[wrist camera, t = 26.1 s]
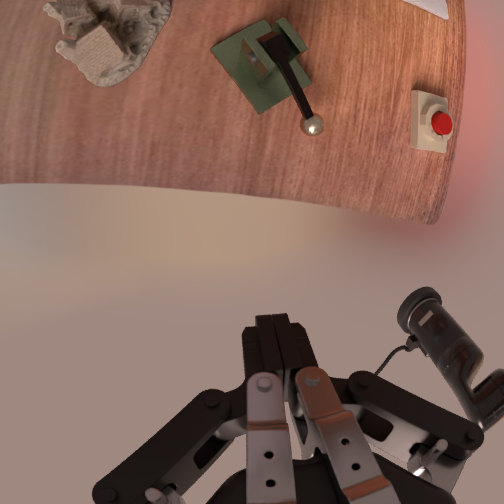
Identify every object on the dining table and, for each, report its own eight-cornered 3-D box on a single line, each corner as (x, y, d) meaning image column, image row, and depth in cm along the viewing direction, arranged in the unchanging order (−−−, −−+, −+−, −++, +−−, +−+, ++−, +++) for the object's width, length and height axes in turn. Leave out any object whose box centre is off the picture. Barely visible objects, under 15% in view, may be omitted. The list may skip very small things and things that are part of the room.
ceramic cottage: (85, 97, 33) (34, 85, 19) (75, 16, 26) (32, -17, 12) (184, 62, 33) (171, 25, 20) (166, -19, 27) (153, -70, 13)
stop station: (438, 151, 41) (452, 155, 37) (409, 146, 40) (423, 150, 37) (440, 98, 37) (454, 99, 33) (410, 90, 36) (424, 89, 33)
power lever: (319, 122, 35) (332, 132, 33) (300, 134, 36) (312, 145, 34) (273, 28, 24) (287, 31, 22) (249, 41, 24) (260, 45, 22)
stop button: (445, 135, 36) (452, 136, 35) (430, 131, 36) (437, 133, 34) (446, 114, 35) (453, 115, 33) (431, 110, 34) (437, 111, 33)
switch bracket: (310, 84, 36) (343, 70, 24) (258, 114, 37) (273, 110, 26) (263, 21, 31) (278, -15, 19) (210, 51, 32) (203, 22, 21)
